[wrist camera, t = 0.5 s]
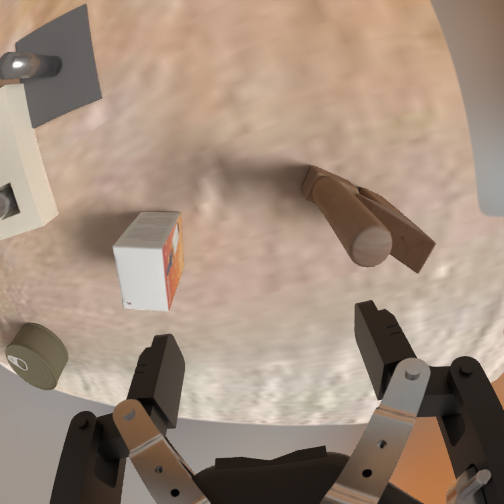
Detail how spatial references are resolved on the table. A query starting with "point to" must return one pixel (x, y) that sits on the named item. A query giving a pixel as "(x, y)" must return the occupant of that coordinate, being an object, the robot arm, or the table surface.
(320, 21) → the table surface
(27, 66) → the steel pin
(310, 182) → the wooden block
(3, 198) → the seated pin
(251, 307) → the table surface
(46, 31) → the mat
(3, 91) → the bore block
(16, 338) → the can
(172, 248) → the small box
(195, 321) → the table surface
